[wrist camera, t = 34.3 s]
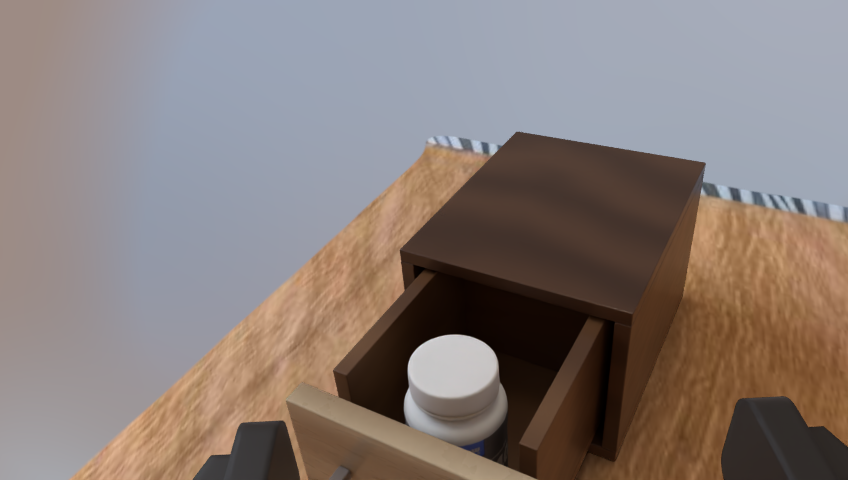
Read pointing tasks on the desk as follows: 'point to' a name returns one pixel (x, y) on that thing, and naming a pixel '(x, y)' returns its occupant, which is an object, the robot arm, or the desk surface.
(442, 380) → the pill bottle
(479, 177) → the cabinet
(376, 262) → the desk surface
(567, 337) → the drawer
